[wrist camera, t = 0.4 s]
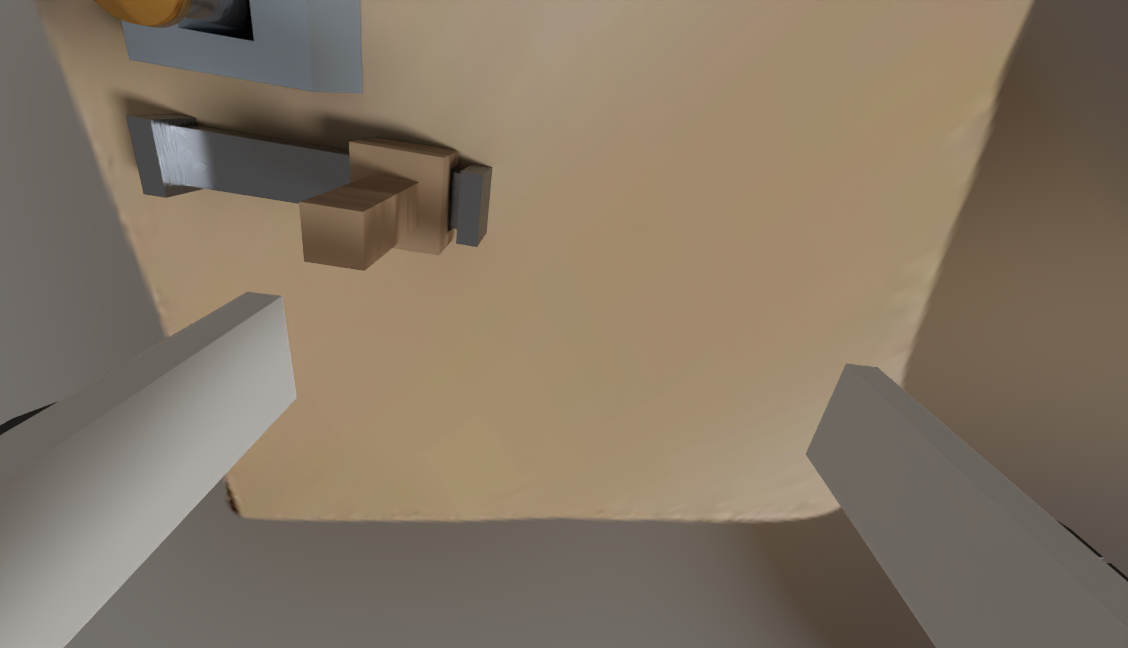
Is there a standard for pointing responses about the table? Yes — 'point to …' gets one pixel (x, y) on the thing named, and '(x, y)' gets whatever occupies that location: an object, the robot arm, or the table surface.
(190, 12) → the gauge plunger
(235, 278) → the table surface
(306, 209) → the carriage
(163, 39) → the block with square hole
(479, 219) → the rail
